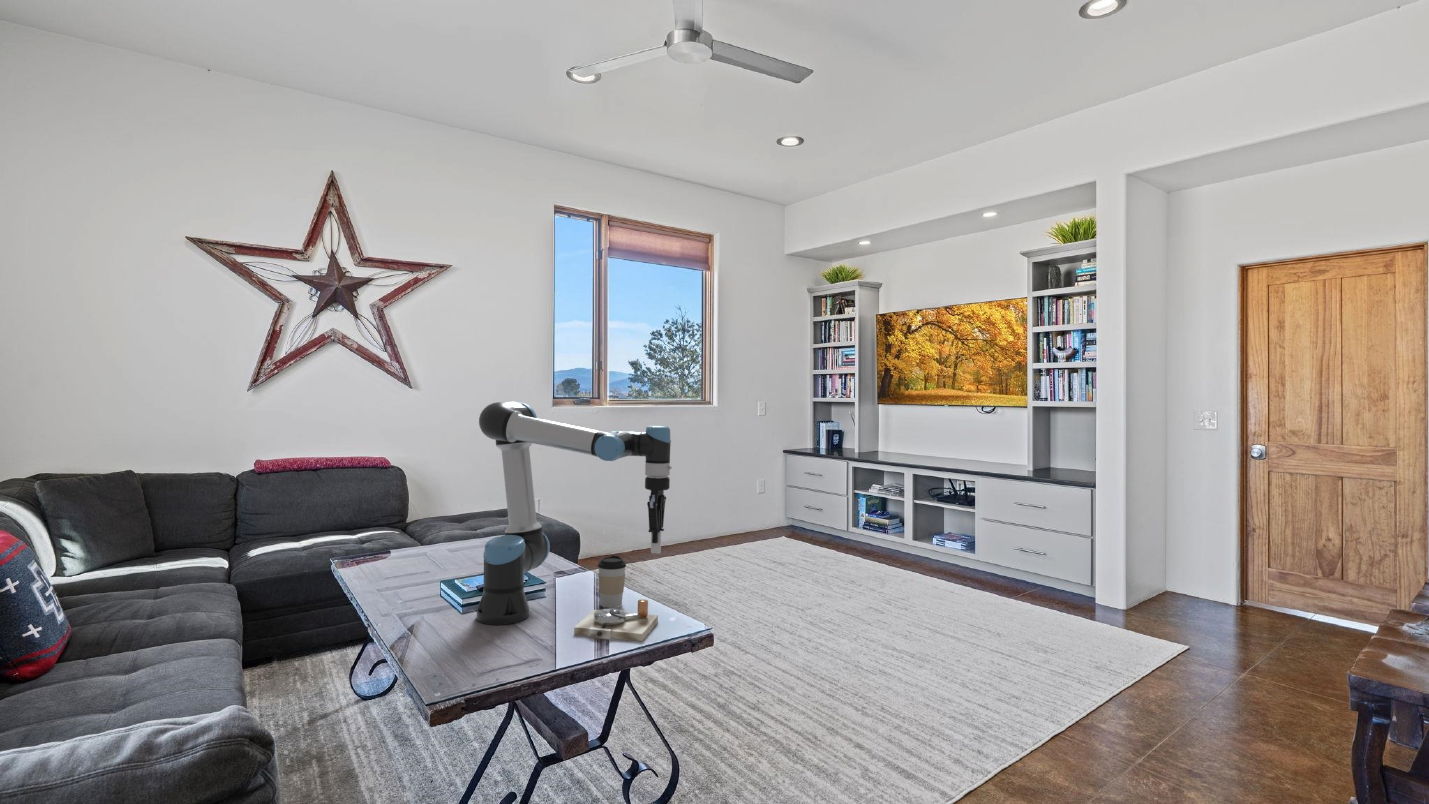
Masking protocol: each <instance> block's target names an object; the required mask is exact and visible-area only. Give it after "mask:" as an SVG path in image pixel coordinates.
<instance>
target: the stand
mask: <svg viewBox="0 0 1429 804" xmlns="http://www.w3.org/2000/svg"><path fill="white" fill-rule="evenodd" d="M599 610H600V609H594V610H592V611H591V612H590V613H589V614H588V615H586V616H585V617H584V618H583V619H582V620H581V621H580V622H578V623H577V624H576V625H575V626H574V627H573V629H574V630H573V635H577V636H587V637H589V638H591V639H601V640H611V639H615V640H616V639H618V640H619V639H620V640H627V641H637V642H642V641H643V640H645V638H646V637H647V636H648V635H649V634H650V632H651V631H652V630H653V628H655V626H656V625H657V624H658V622H659V615H656V614H648V617H645V618H636V619H627V620H625V622H624V623H622V624H620V625H615V626H602V625H598V624H596V623H595V622H594V613H595V612H596V611H599ZM624 612H625V614H634V612H626V611H624Z"/></svg>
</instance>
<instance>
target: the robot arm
mask: <svg viewBox="0 0 1429 804" xmlns="http://www.w3.org/2000/svg"><path fill="white" fill-rule="evenodd" d="M478 425H479V426H478V427H479V429H480V430H481V433H482V434H484V436H485V437H487V438H489V439H491V440H495V446H496V447H497V448H498V449H499V450H500V451H501V457H502V459H501V460H502V469H503V477H504V487H505V497H506V509H507V516H508V517H507V518H508V519H507V520H508V526H507V528H506V529H505V530H504V535H500V536H496V537H493V538H491V539H489V540H488V541H487V542H486V543H485V545H484V549H483V550H484V551H483V591H482V595H481V598H480V600H479V604H478V607H477V608H476V609H477V610H476V621H478V622H479V623H482V624H485V625H493V626H495V625H496V626H499V625H501V626H502V625H510V624H516V623H519V622H523V621H525V620H526V619H527V618H528V617H530V606H529V603H528V599H527V596H526V594H525V590H524V589H525V583H524V582H525V574H526V573H528V572H530V571H531V570H534V569H536V568H538V567H540V566H541V565H542V564H543V563H544V562H545V561H546V559H548V556H549V553H550V551H551V550H550V549H551V545H550V540H549V539H548V537H547V535H546V534H545V532H544V531H543V526H542V524H541V523H539V522H538V521H537V512H536V502H535V493H534V484H533V483H534V482H533V472H532V462H531V453H530V447H531V446H532V444H535V445H540V446H545V447H550V448H554V449H559V450H560V449H561V450H565V451H569V452H575V453H579V454H584V455H587V456H588V455H589V456H593V457H597V458H599V459H600V460H602V461H605V462H615V461H617V460H618V459H622V458H625V457H644V458H645V465H644V469H645V470H644V474H645V479H644V488H645V489H646V490H648V491H650V495H649V496H648V497H649V498H648V501H647V509H648V510H647V511H648V512H647V513H648V533H650V535H651V537H650V541H651V542H650V553H651V554H657V555H660V554H661V553H662V532H664V531H665V528H664V521H665V520H664V518H665V508H666V501H667V497H666V496H665V494H664V493H665V492H664V491H668V490H669V489H670V470H671V469H672V465H670V464H671V461H670V460H671V445H672V444H671V443H672V440H671V428H670V427H668V426H665V425H648V426H646V427H645V431H641V432H639V431H628V430H627V431H626V430H625V431H624V430H615V431H614V430H613V431H610V432H607V431H600V430H597V429H591V428H587V427H581V426H576V425H571V424H567V423H561V422H558V421H553V420H547V419H542V418H538V417H537V413H536V412H535V410H534V409H533V408H532V407H531V406H530V405H529V404H527V403H525V402H520V401H506V402H502V401H501V402H500V401H498V402H493V403H490V404H488V405H487V406H485V407H484V408H483V409H482V411H481V413H480V414H479V417H478Z"/></svg>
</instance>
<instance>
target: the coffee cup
mask: <svg viewBox="0 0 1429 804" xmlns="http://www.w3.org/2000/svg"><path fill="white" fill-rule="evenodd" d="M597 563H598V564H597V568H598V574H597V575H598V576H597V577H598V578H597V579H598V592H599V603H600V604H599V605H600V606H601V607H603V608H606V609H615V608H618V607H621V606H622V604H623V595H624V594H623V593H624V592H625V591H624V589H625V581H626V579H625V578H626V567H627V565H626V564H627V562H626V561H624V559H623V558H622V557H620V556H619V555H611V556H605V557H602V558H601V559H600V561H598V562H597Z"/></svg>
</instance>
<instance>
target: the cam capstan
mask: <svg viewBox="0 0 1429 804" xmlns="http://www.w3.org/2000/svg"><path fill="white" fill-rule="evenodd" d="M598 610H599V611H596V612H595V613H594V622H595V623H596V624H598V625H602V626H615V625H620V624H622V623H624V622H625V620H627V619H636V618H645V617H648V615H649V600H648V599H639V600H637V612H635V613H634V612H633V613H634V614H625V612H626V611H624V610H622V609H619V608H604V609H598Z"/></svg>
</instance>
